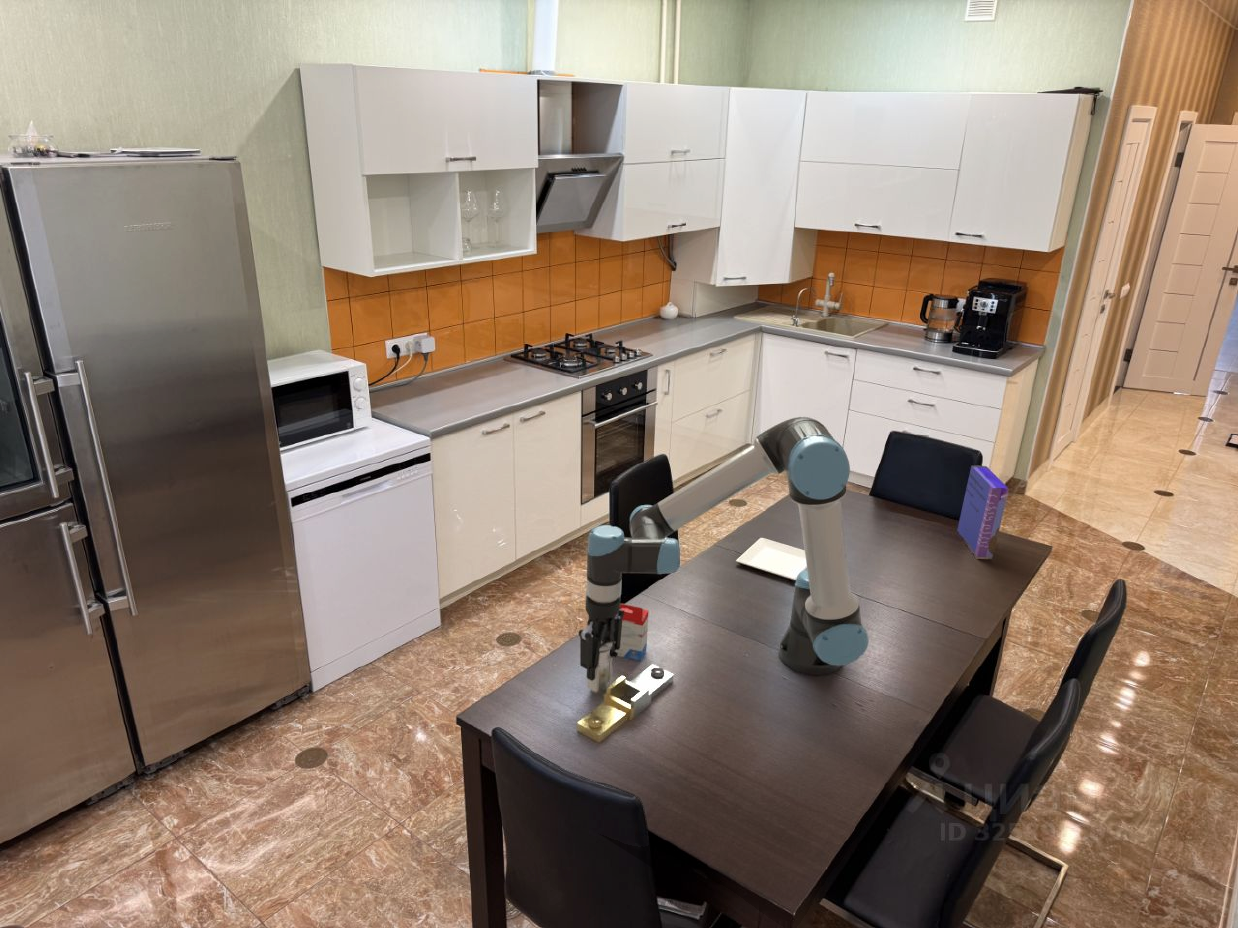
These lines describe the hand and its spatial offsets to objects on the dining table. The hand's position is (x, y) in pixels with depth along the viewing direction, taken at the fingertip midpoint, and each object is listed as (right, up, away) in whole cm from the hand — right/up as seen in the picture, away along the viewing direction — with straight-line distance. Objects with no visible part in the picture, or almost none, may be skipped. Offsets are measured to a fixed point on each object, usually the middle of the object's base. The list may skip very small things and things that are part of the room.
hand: (599, 684), depth 195 cm
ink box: (+6, +4, +15) cm, 17 cm away
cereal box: (+116, +24, +77) cm, 141 cm away
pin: (0, -2, +1) cm, 2 cm away
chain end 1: (+3, -5, -8) cm, 10 cm away
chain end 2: (+10, -2, 0) cm, 10 cm away
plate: (+51, +20, +61) cm, 82 cm away
